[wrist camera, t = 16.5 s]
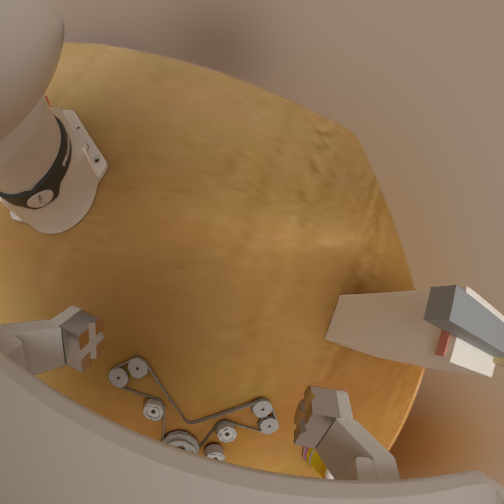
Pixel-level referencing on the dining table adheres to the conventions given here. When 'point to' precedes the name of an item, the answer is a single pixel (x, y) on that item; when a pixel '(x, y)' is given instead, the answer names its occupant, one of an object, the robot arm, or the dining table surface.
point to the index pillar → (405, 332)
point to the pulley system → (181, 438)
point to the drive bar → (466, 320)
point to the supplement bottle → (316, 462)
